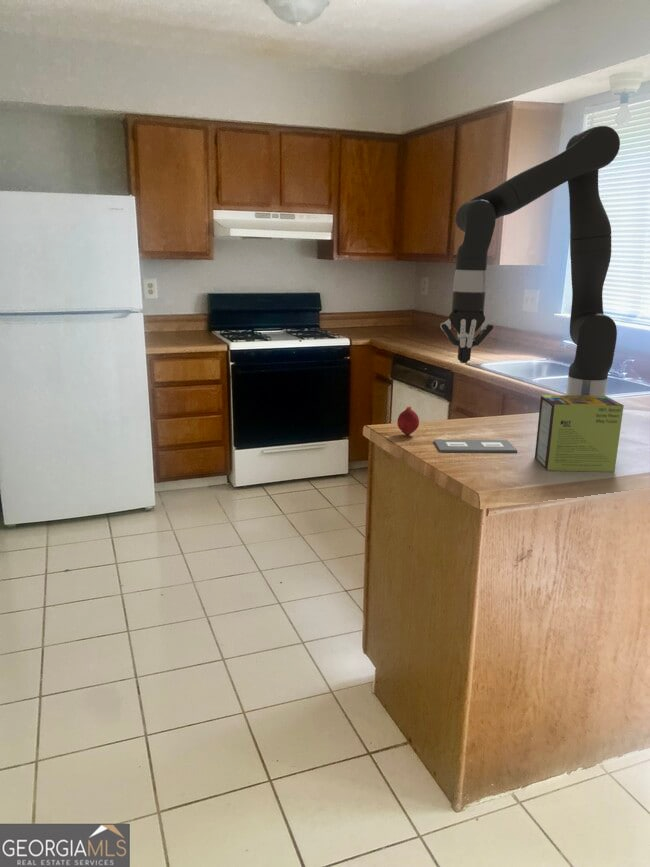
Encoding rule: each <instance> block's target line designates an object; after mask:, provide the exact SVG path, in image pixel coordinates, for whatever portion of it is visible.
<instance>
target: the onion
mask: <svg viewBox="0 0 650 867" xmlns="http://www.w3.org/2000/svg"><path fill="white" fill-rule="evenodd" d="M396 423H397V428H398V429H399V430H400V431H401V432H402V434H404V435H405V436H410V435H411V434H413V433H414V432H416V431H417V429H419V425H420V418H419V415H418V414H417V412H415V411H414V410H413V409H412V407H411V405H408V406H407V407H406V409H404V410H403V411H402V412H400V414H399V415H398V418H397V420H396Z"/></svg>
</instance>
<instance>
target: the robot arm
mask: <svg viewBox="0 0 650 867" xmlns="http://www.w3.org/2000/svg"><path fill="white" fill-rule="evenodd" d="M620 147H621V140H620V136H619V134H618V132H617V130H615V129H614V128H612V127H611V126H608V125H596V126H592V127H589V128H586V129H583V130H582V131H578V132H577V133H575V134H573V136H571V138H570V139H569V140H568V142H567V144H566V147H565V150H564V151H563V152H561V153H559V154H557V155H555V156H553V157H551V158H549V159H547V160H545V161H543V162H541V163H538V164H537V165H534V166H532V167H530V168H527V169H526V170H524V171H522V172H520V173H518V174H517V175H514V176H513V177H510V178H508V180H506V181H504V182H502V183H501V184H499V185H498V186H496V187H495V188H492V189H491V190H489V191H487V192H484V193H483V194H480V195H478V196H475V197H474V198H472V199H469V200H467V201H466V202H464V203H462V205H460V207H458V209H457V212H456V214H455V224H456V226H457V227H458V229H459V230H460V231H462V232H464V237H463V241H462V243H461V244H460V245H459V247H458V249H457V253H456V263H455V264H456V265H455V273H454V278H453V285H452V287H453V288H452V300H451V312H450V314H449V315H448V319H447V320H445V321H444V322H441V323H440V324H439V327H440V329H441V330H442V332H443V333H444V334H445V336H446V337H447V339H448V340H449V342H450V344H452V345H454V346H456V347H457V360H458V362H460V364H468V362H469V361H470V360H471V353H472V352H471V351H472V348H473V347H474V346H480V344H481V343H482V342H483V340H484V339H485V338H486V337H487V336H488V335H489V334H490V333H491V331H492V330H493V329H494V325H492V324H490V323H489V322H488V321H487V320H486V316H485V302H486V301H485V300H486V290H487V266H488V252H489V248H490V246H491V242H492V240H493V239H492V238H493V236H494V232H495V227H496V220H497V219H499V218H501V217H504V216H508V215H510V214H513V213H515V212H517V211H518V210H521V209H522V208H524V207H526V206H527V205H529V204H531V203H533V202H535V201H536V200H537V199H540V198H541V197H542V196H544V195H546V194H547V193H549V192H551V191H552V190H554V189H556V188H558V187H560V186H562V185H563V184H565V183H567V188H568V197H569V224H570V225H569V228H570V229H569V231H570V232H569V253H570V256H569V257H570V275H571V276H570V277H571V279H570V280H571V292H572V293H571V294H572V295H571V306H570V307H571V308H570V310H571V311H570V317H569V319H570V320H569V336H570V338H571V341H572V342H573V343H574V345H576V348H575V356H574V360H573V362H572V363H571V364H570V365H569V368H568V374H567V375H568V377H567V385H566V392H565V393H566V394H565V395H587V396H599V395H600V396H606V391H607V383H608V377H609V372H610V371H611V369H612V366H613V361H614V358H615V357H614V356H615V351H616V344H617V339H618V338H617V337H618V328H617V325H616V322H615V320H614V319H613V318H611V317H610V316H609V315H606V314H605V313H604V304H603V303H604V302H603V301H604V299H603V291H604V283H605V281H606V277H607V274H608V271H609V267H610V262H611V258H612V225H611V222H610V219H609V217H608V213H607V212H606V209H605V207H604V205H603V202H602V200H601V197H600V191H599V170H600V169H602V168H605V167H606V166H609V165H610V164H611V163H612V162H613V161H614V160H615V159H616V157H617V155H618V153H619V151H620ZM451 325H452V326H451ZM452 327H453V328H454V330H455V331H456V332H457V334H456V335H457V338H456V337H455V335H454V334H453V333H452V331H451V329H452ZM479 329H481V330H480V331H479V333H477V335H476V336H475V333H476V332H477V331H478V330H479Z"/></svg>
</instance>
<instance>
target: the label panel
mask: <svg viewBox="0 0 650 867" xmlns="http://www.w3.org/2000/svg"><path fill="white" fill-rule="evenodd" d="M433 443H434V445H436V448H437V449H438V452H440V453H518V449H516V447H515V446H514V445H513V444H512V443H511V442H510V441H509V440H508V439H436V438H435V439H433Z"/></svg>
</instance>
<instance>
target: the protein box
mask: <svg viewBox="0 0 650 867" xmlns="http://www.w3.org/2000/svg"><path fill="white" fill-rule="evenodd" d="M539 401H540V402H539V411H538V420H537V421H538V422H537V429H536V430H537V432H536V441H535V451H534V452H535V453H534V458H535V459H536V460H537V461H538V462H539V463H540V464H541V465H542V467H543V468H544V469H546V471H550V472H551V471H552V472H553V471H557V472H559V471H560V472H561V471H562V472H595V473H596V472H598V473H601V472H603V473H604V472H606V473H607V472H609V473H613V472H615V471H616V465H617V464H616V463H617V459H618V458H617V457H618V450H619V443H620V434H621V429H622V428H621V427H622V421H623V414H624V407H625V406H624V404H622V403H620V402H618V401H616V400H614V399H612V398H610V397H609V396H607V395H605V396H600V395H599V396H587V395H566V394H561V395H560V394H541V395H540V400H539Z"/></svg>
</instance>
